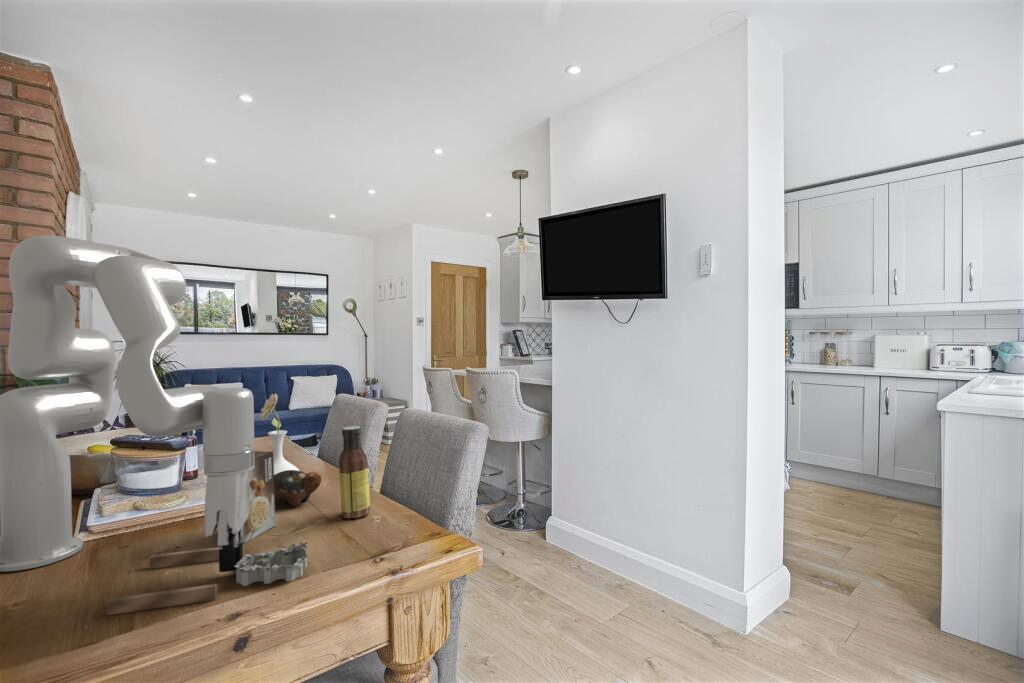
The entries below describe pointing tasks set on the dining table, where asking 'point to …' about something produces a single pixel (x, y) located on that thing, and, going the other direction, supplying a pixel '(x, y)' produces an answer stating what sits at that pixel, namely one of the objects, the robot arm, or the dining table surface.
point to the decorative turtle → (294, 486)
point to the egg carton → (272, 565)
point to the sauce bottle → (353, 475)
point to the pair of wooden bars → (169, 596)
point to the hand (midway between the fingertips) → (231, 568)
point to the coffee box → (260, 497)
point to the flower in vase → (276, 437)
